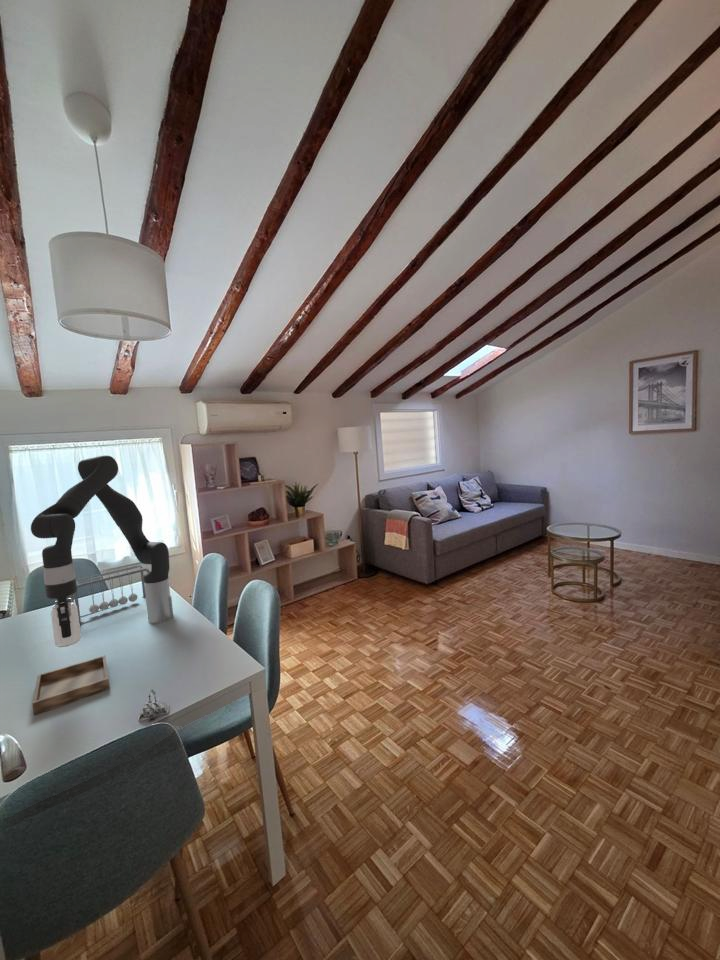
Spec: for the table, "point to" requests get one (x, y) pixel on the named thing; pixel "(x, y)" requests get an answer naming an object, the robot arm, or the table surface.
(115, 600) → the newton's cradle
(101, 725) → the table surface
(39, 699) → the tray
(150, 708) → the grey jagged ornament
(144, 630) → the table surface
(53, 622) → the can
